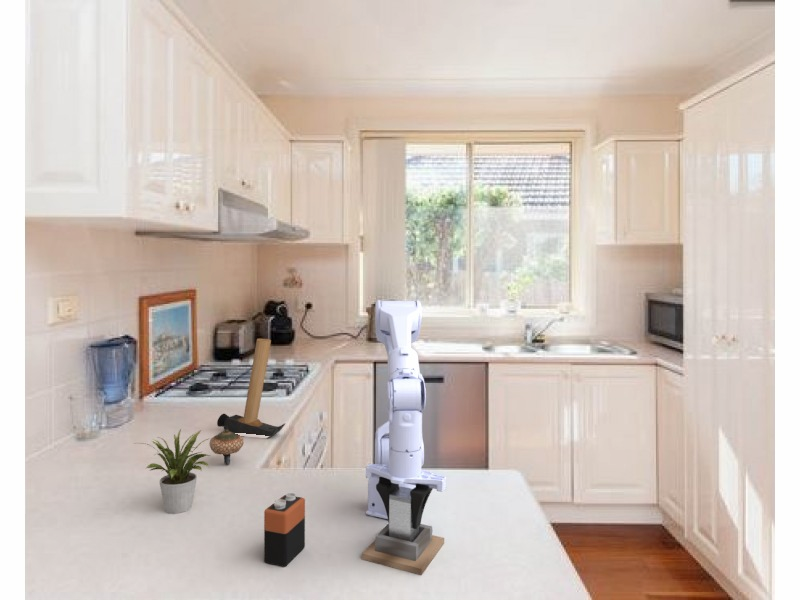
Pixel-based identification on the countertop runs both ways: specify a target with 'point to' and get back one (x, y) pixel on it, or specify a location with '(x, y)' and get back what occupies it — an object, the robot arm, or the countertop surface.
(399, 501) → the peg
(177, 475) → the house plant
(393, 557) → the socket block
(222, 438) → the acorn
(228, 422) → the hammer
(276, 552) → the battery
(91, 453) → the countertop surface
